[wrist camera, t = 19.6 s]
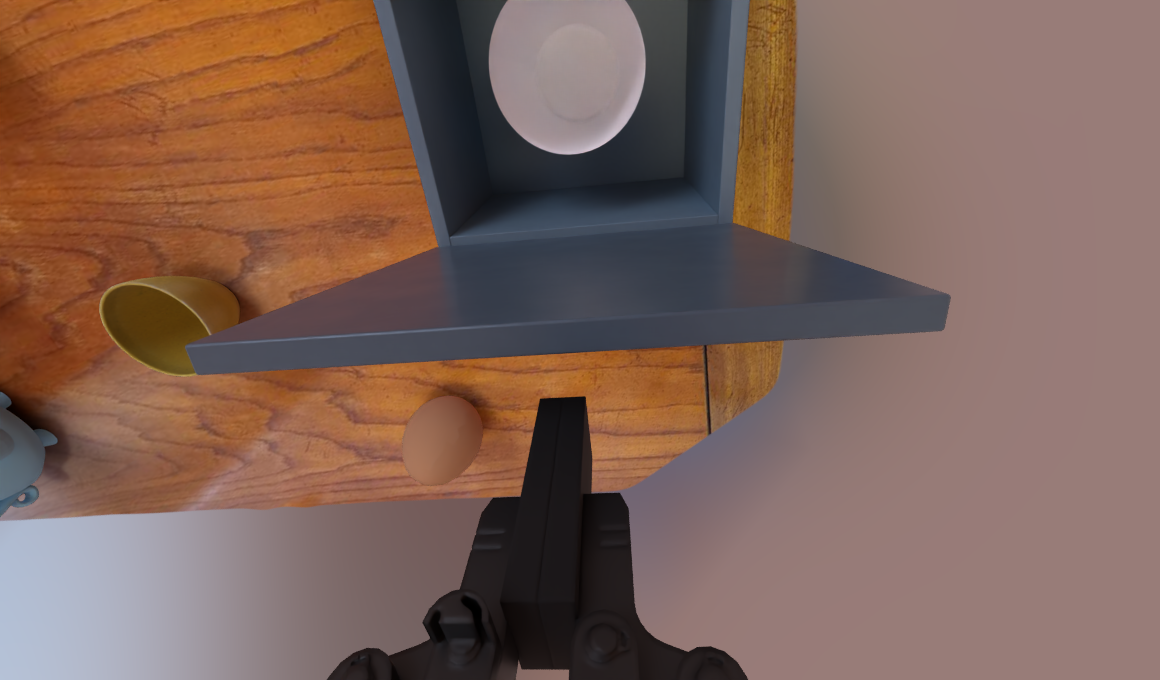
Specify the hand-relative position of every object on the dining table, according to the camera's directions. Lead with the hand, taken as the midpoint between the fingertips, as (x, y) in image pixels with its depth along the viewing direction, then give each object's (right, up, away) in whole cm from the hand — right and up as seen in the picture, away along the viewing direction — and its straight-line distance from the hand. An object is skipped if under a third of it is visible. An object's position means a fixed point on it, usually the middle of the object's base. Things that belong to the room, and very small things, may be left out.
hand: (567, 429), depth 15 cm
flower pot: (-39, +7, +32) cm, 51 cm away
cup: (0, +24, +20) cm, 31 cm away
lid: (0, +7, +4) cm, 8 cm away
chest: (0, +24, +21) cm, 32 cm away
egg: (-14, -5, +38) cm, 41 cm away
